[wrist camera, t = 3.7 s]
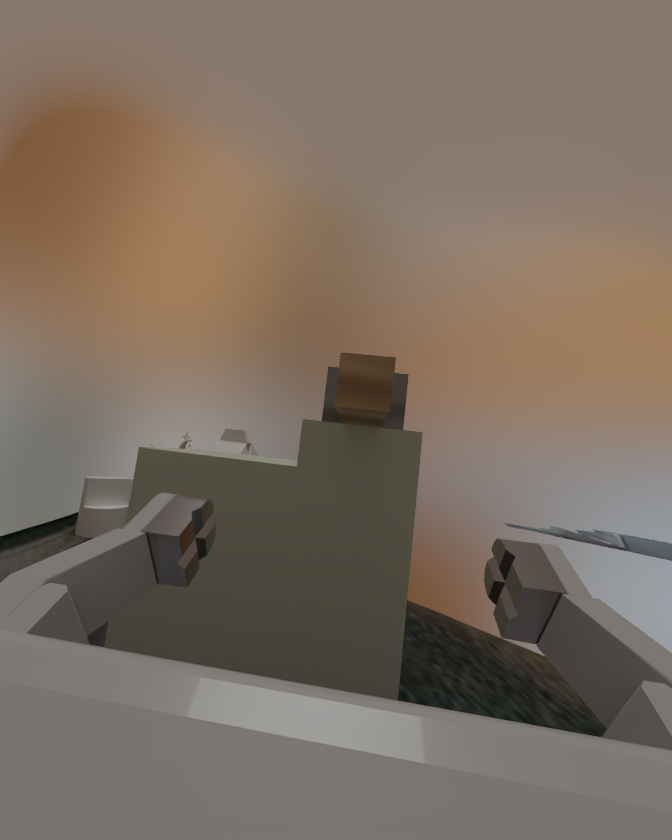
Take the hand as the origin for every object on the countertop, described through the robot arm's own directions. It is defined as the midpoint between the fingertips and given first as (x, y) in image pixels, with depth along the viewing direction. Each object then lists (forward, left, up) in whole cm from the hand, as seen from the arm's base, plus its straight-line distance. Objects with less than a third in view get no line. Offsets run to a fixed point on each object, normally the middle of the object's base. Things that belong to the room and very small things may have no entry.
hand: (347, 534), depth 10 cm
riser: (+10, +23, -21) cm, 33 cm away
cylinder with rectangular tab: (-2, +83, -21) cm, 86 cm away
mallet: (+12, +14, +5) cm, 19 cm away
